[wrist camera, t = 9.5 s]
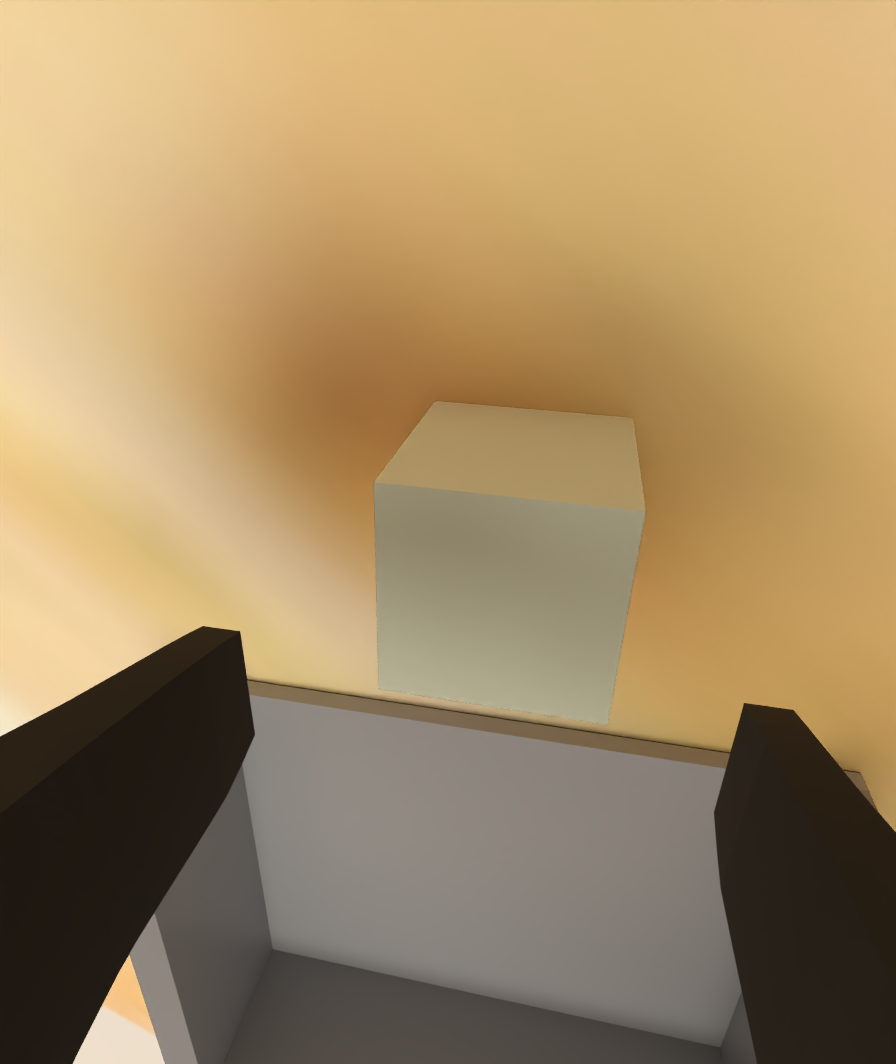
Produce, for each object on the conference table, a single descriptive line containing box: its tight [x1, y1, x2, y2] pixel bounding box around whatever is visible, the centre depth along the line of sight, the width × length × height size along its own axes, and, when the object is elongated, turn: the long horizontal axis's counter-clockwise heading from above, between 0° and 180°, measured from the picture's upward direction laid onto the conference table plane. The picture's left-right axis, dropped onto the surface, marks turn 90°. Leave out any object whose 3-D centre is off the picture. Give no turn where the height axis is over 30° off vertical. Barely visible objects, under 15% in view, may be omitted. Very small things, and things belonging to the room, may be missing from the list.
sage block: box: [374, 401, 646, 725], centre depth 14 cm, size 4×4×5 cm
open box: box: [130, 680, 878, 1064], centre depth 21 cm, size 19×14×6 cm
